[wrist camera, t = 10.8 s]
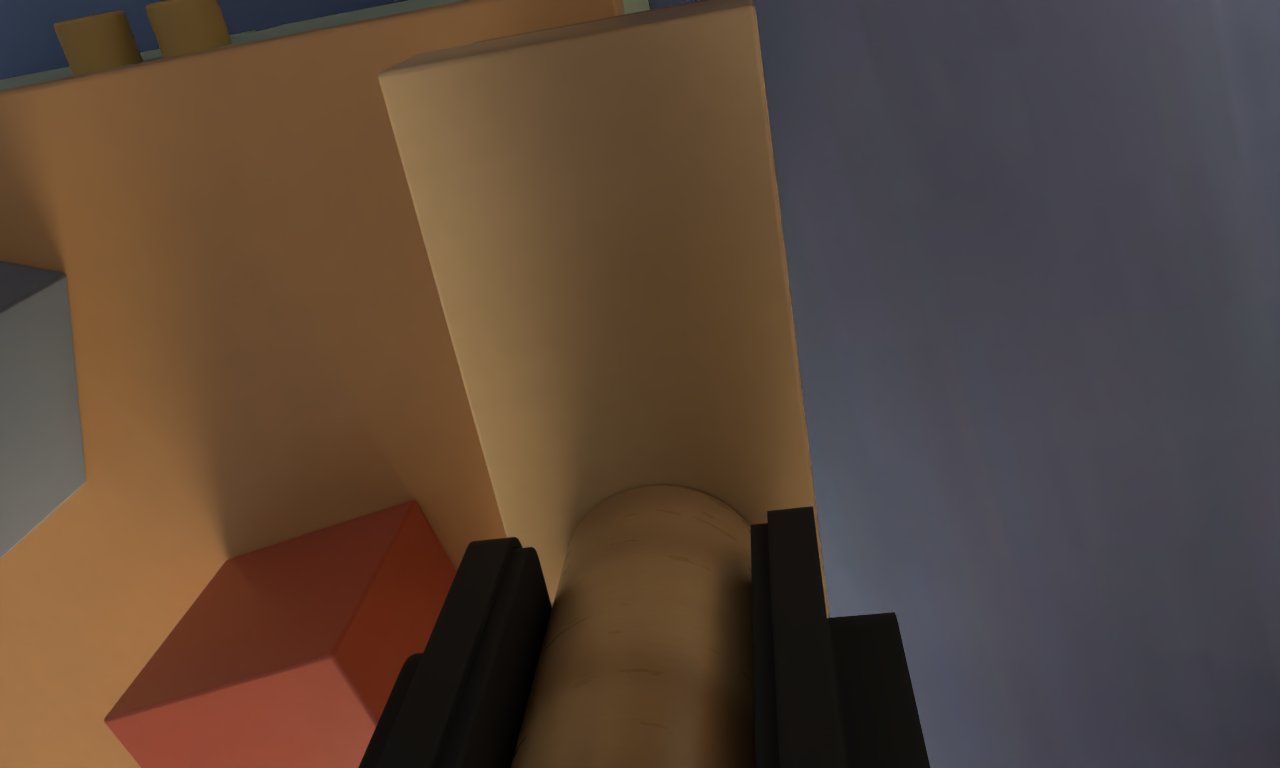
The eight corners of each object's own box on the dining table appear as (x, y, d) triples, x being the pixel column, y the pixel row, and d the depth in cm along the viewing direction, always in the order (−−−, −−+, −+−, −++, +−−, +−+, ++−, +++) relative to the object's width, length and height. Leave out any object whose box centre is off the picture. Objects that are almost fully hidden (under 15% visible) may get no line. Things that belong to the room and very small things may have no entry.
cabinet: (166, 542, 31) (-66, 805, 22) (-59, 49, 25) (-511, 135, 16) (746, 478, 28) (751, 750, 19) (655, -96, 22) (599, -92, 13)
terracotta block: (333, 717, 20) (243, 899, 16) (225, 558, 18) (99, 720, 15) (514, 668, 19) (462, 850, 15) (416, 497, 17) (332, 654, 14)
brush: (629, 769, 19) (529, 1574, 10) (448, 38, 13) (-167, 331, 4) (845, 756, 18) (953, 1602, 9) (751, -18, 13) (787, 186, 4)
